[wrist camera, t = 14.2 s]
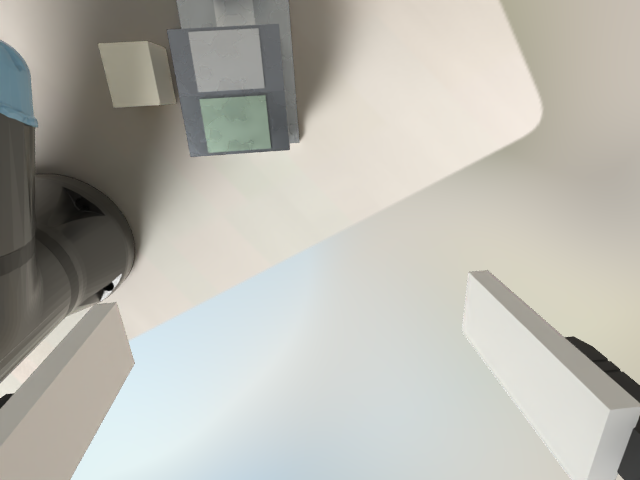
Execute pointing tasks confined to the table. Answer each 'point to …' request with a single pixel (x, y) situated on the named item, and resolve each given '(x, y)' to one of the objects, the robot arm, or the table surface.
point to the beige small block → (137, 73)
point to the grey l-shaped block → (235, 75)
